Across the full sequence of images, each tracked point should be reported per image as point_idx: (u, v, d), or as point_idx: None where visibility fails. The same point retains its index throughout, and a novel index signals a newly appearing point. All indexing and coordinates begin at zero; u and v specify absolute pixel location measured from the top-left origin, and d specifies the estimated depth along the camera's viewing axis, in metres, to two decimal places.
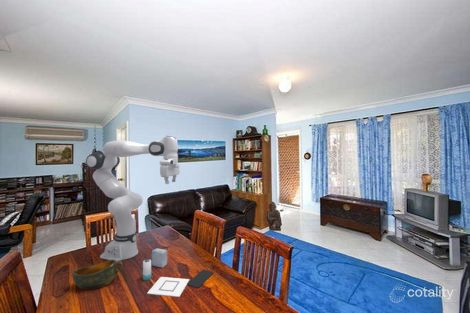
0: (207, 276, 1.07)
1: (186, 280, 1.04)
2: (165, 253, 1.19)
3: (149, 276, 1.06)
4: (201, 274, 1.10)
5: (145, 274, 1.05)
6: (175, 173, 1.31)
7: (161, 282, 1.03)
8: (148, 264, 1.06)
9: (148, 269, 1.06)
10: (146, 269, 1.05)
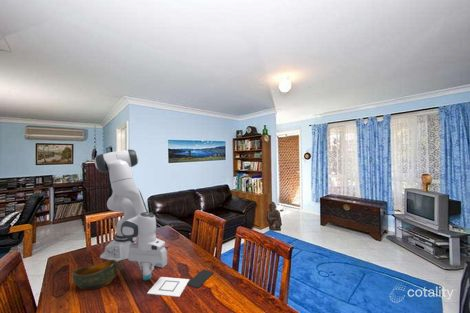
0: (207, 276, 1.07)
1: (186, 280, 1.04)
2: None
3: (149, 276, 1.06)
4: (201, 274, 1.10)
5: (145, 274, 1.05)
6: None
7: (161, 282, 1.03)
8: (148, 264, 1.06)
9: (148, 269, 1.06)
10: (146, 269, 1.05)
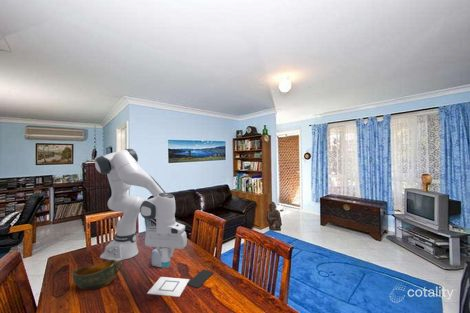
0: (207, 276, 1.07)
1: (186, 280, 1.04)
2: None
3: (168, 263, 0.96)
4: (201, 274, 1.10)
5: (164, 261, 0.95)
6: None
7: (161, 282, 1.03)
8: (167, 250, 0.95)
9: (167, 255, 0.95)
10: (165, 255, 0.95)
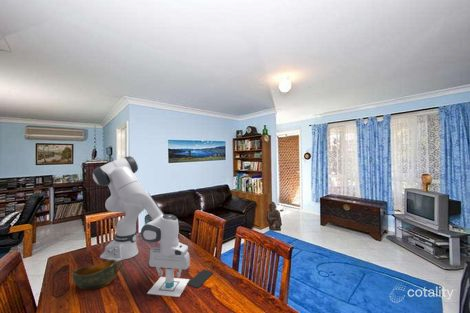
0: (207, 276, 1.07)
1: (186, 280, 1.04)
2: None
3: (172, 284, 0.99)
4: (201, 274, 1.10)
5: (168, 282, 0.98)
6: None
7: (161, 282, 1.03)
8: (171, 271, 0.99)
9: (171, 276, 0.99)
10: (169, 276, 0.98)
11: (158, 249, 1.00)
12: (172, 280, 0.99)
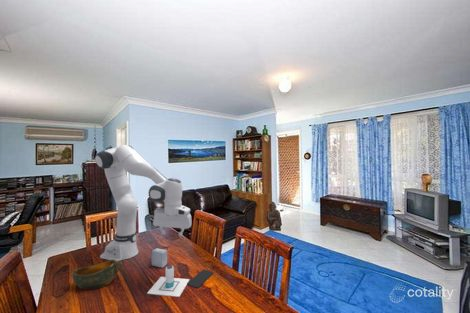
0: (207, 276, 1.07)
1: (186, 280, 1.04)
2: (165, 253, 1.19)
3: (172, 284, 0.99)
4: (201, 274, 1.10)
5: (168, 282, 0.98)
6: None
7: (161, 282, 1.03)
8: (171, 271, 0.99)
9: (171, 276, 0.99)
10: (169, 276, 0.98)
11: (162, 210, 1.07)
12: (172, 280, 0.99)
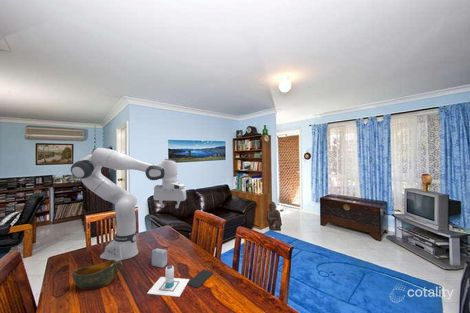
0: (207, 276, 1.07)
1: (186, 280, 1.04)
2: (165, 253, 1.19)
3: (172, 284, 0.99)
4: (201, 274, 1.10)
5: (168, 282, 0.98)
6: None
7: (161, 282, 1.03)
8: (171, 271, 0.99)
9: (171, 276, 0.99)
10: (169, 276, 0.98)
11: (160, 186, 1.25)
12: (172, 280, 0.99)
